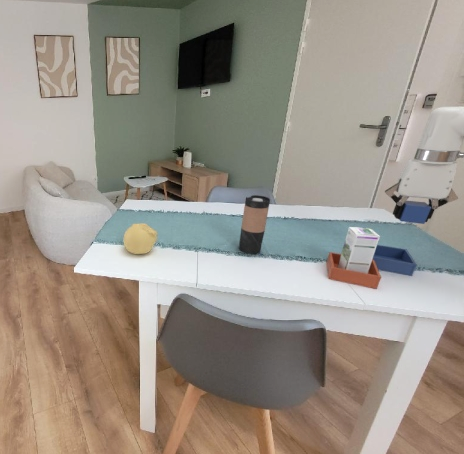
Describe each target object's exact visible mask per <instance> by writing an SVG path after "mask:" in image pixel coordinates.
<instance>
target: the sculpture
mask: <svg viewBox="0 0 464 454" xmlns="http://www.w3.org/2000/svg"><path fill="white" fill-rule="evenodd" d="M157 241H158V231H157V230H156V229H154V228H152V227H151V226H149V225H148V224H147V223H144V222H143V223H133V224H132V225H131V226H129V227H128V228H127V229H126V230H125V232H124V235H123V245H124V248H125V249H126V250H127V252H128V253H130V254H134V255H143V254H148V253H149V252H151V250H152V249H153V248H154V246H155V244H156V243H157Z"/></svg>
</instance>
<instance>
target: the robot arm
mask: <svg viewBox="0 0 464 454" xmlns="http://www.w3.org/2000/svg"><path fill="white" fill-rule="evenodd" d="M463 142H464V106H441V107H436V108H434V109H433V110H432V111H431V112H430V115H429V117H428V119H427V121H426V125H425V128H424V130H423V133H422V136H421V138H420V141H419V144H418V146H417V149H416V151H415V154H414V157H413V158H412V159H411V158H410V159H408V161H407V162H406V163H405V166H404V168H403V169H402V171H401V173H400V175H399V177H398V179H397V180H396V183H395V184H393V185H392V186H390V187H388V188H387V189H385V190H384V194H385V195H387V196H388V197H389V198H390V199H392V201H393V202H394V203H395V206H394V208H393V211H392V215H393V216H394V218H395V219H397V220H399V219H400V217H401V215H402V212H403V209H404V206H403V205H404V203H405V201H408V199H409V198H419V199H428V202H427V204H428V205H429V206H430V207H431V209H430V212H429V214H428V216H427V219H426V221H425V223H428V221H429V220H431V219H432V218H433V214H434V212H435V210H437V209H439V208H440V207H442V206H444V205H447V204H448V203H451V202H454V201H457V200H458V199H459V197H458V195H457V193H456V192H455V191H454V189H453V184H454V181H455V178H456V174H457V173H456V172H457V167H458V162H456V161H457V159H464V152H462V151H461V150H460V149H461V147H462V145H463ZM395 192H397V193H398V196H397V194H395Z"/></svg>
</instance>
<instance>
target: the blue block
mask: <svg viewBox="0 0 464 454" xmlns="http://www.w3.org/2000/svg"><path fill="white" fill-rule="evenodd" d="M428 204H429V203H428V202H425V201H416V200H406V201H405V203H404V205H403V206H404V209H403V212H402V215H401V217H400V219H398V220H399V221H400V222H404V223H405V222H406V223H413V224H422V225H425V224H426V222H425V221H426V219H427V216H428V214H429V212H430V209H431V207H430V206H429V205H428Z"/></svg>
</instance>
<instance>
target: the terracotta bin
mask: <svg viewBox="0 0 464 454" xmlns="http://www.w3.org/2000/svg"><path fill="white" fill-rule="evenodd" d="M340 256H341V253H338V252H331V251H329V253H328V256H327V259H326V269H327V277H328V278H327V279H328V280H333V281H336V282H342V283H347V284H351V285H357V286H361V287H366V288H370V289H374V290H377V289H378V287H379V284H380V282H381V280H382V275H381V273H380V270H378V268H377V266H376V263H375V261H374V260H372V262H371V265H370V268H369V271H368V273H362V272H356V271H351V270H346V269H341V268H337V267H338V263H339V260H340Z"/></svg>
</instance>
